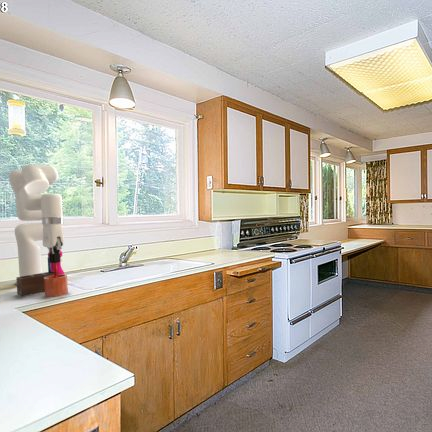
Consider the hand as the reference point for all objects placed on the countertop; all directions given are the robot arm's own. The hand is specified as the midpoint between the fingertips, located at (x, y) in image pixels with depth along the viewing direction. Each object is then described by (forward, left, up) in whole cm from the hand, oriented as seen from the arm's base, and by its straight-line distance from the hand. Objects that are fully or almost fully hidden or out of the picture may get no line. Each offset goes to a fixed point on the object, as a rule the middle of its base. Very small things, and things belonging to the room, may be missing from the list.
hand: (55, 262), depth 142 cm
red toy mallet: (0, 0, -10) cm, 10 cm away
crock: (0, 0, -15) cm, 15 cm away
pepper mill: (-23, +9, -16) cm, 29 cm away
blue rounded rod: (-13, +3, -15) cm, 20 cm away
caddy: (-13, -2, -15) cm, 20 cm away
